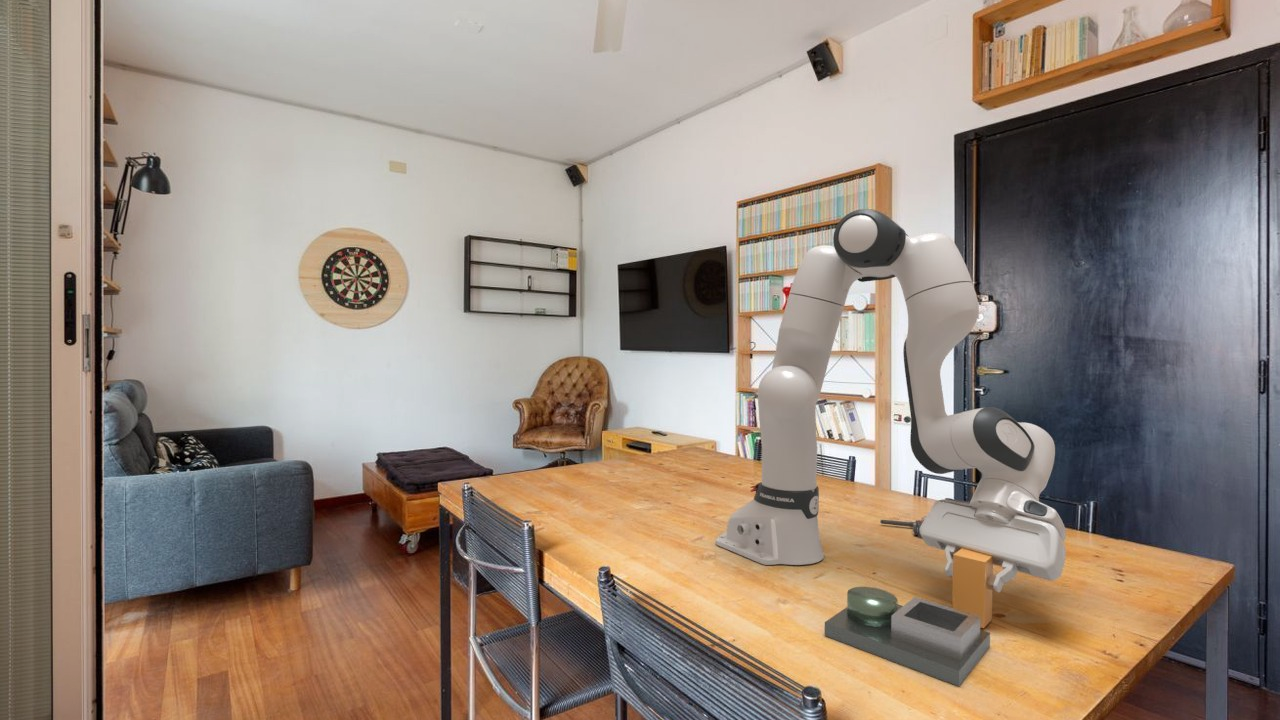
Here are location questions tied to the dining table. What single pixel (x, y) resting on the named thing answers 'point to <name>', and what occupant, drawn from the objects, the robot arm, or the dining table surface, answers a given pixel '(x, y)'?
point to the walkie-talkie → (915, 525)
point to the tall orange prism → (972, 584)
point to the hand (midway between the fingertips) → (970, 581)
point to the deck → (911, 633)
